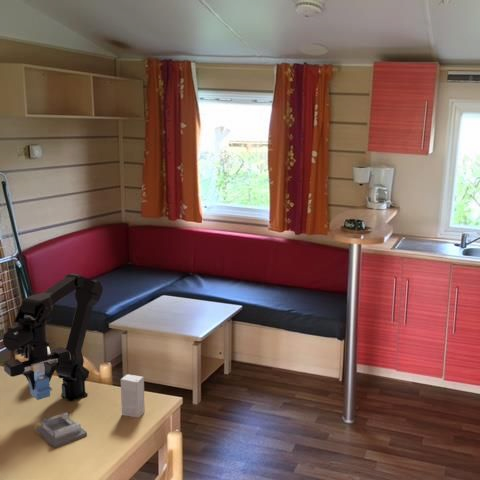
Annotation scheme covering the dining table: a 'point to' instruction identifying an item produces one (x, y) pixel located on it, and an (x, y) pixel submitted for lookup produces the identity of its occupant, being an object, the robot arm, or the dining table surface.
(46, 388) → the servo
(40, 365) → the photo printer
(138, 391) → the skincare box
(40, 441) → the dining table surface
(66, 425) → the grey shallow tray
